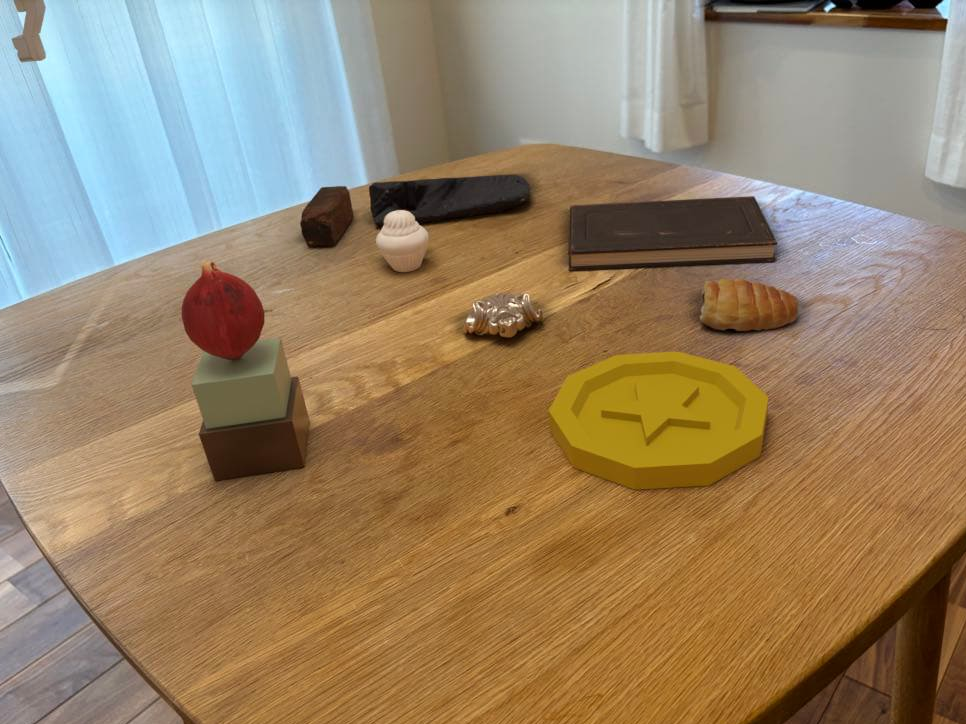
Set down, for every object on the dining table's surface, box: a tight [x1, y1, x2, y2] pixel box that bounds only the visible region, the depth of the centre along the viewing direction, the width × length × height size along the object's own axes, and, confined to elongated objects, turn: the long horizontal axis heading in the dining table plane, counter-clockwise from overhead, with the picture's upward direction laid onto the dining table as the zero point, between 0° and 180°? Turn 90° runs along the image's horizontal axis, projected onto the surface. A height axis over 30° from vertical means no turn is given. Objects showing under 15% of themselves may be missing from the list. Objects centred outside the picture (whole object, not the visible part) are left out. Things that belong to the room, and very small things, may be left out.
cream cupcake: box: [375, 210, 430, 273], centre depth 100 cm, size 6×6×7 cm
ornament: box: [462, 292, 544, 338], centre depth 85 cm, size 8×7×4 cm
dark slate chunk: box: [368, 173, 531, 227], centre depth 118 cm, size 15×22×5 cm
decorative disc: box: [548, 350, 770, 491], centre depth 69 cm, size 17×18×2 cm
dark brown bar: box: [299, 185, 354, 248], centre depth 112 cm, size 11×4×5 cm, turn 177°
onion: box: [181, 260, 265, 361], centre depth 64 cm, size 6×6×8 cm
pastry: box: [699, 277, 799, 332], centre depth 83 cm, size 9×7×4 cm
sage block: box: [191, 336, 292, 429], centre depth 67 cm, size 6×6×4 cm
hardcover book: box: [567, 195, 778, 272], centre depth 102 cm, size 16×23×2 cm
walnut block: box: [198, 375, 311, 482], centre depth 70 cm, size 7×7×4 cm
